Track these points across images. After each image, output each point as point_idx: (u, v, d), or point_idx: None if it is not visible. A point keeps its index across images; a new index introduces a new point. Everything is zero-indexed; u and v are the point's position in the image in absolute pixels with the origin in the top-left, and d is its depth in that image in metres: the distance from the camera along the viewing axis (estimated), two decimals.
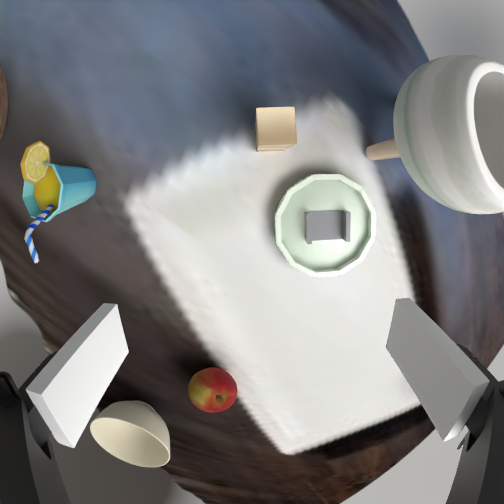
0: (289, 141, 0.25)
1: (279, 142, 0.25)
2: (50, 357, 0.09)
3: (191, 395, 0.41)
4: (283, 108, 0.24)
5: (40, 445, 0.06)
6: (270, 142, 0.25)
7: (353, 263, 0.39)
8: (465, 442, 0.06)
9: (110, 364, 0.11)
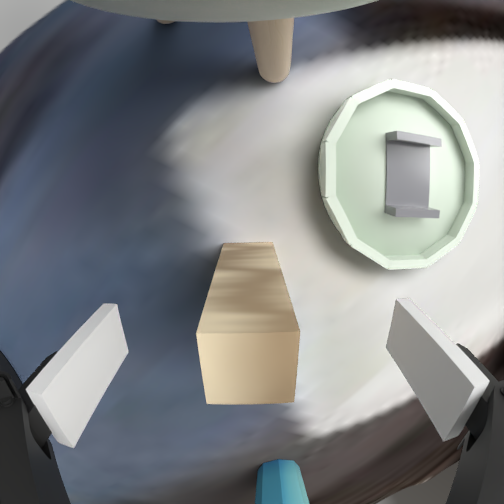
0: (294, 347, 0.10)
1: (294, 366, 0.10)
2: (50, 357, 0.09)
3: None
4: (203, 357, 0.10)
5: (40, 445, 0.06)
6: (292, 383, 0.10)
7: (466, 135, 0.17)
8: (465, 442, 0.06)
9: (110, 364, 0.11)
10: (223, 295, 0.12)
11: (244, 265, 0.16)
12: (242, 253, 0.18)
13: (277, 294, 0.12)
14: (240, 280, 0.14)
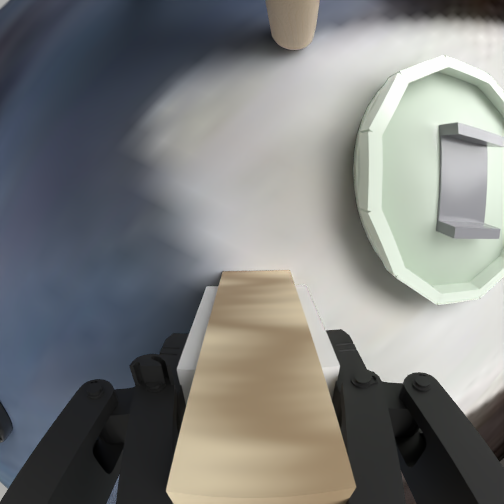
0: (341, 501, 0.04)
1: None
2: (170, 339, 0.11)
3: None
4: None
5: None
6: None
7: None
8: None
9: None
10: (216, 393, 0.07)
11: (252, 318, 0.10)
12: (248, 292, 0.13)
13: (309, 390, 0.07)
14: (245, 353, 0.08)
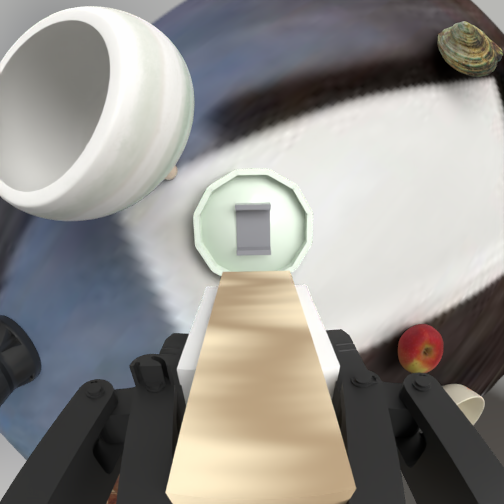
0: (341, 503, 0.04)
1: None
2: (170, 339, 0.11)
3: None
4: None
5: None
6: None
7: (299, 196, 0.33)
8: None
9: None
10: (216, 394, 0.07)
11: (252, 319, 0.10)
12: (248, 293, 0.13)
13: (309, 391, 0.07)
14: (245, 354, 0.08)
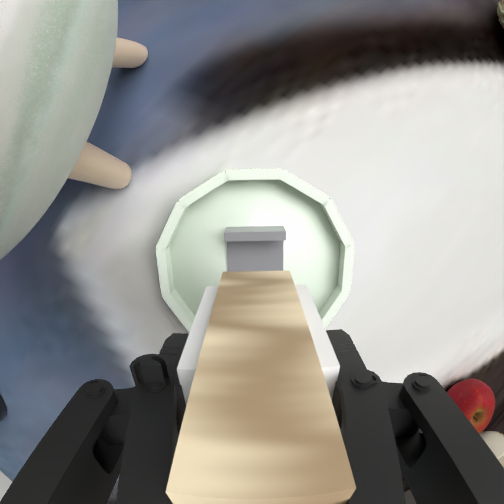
0: (341, 502, 0.04)
1: None
2: (170, 339, 0.11)
3: None
4: None
5: None
6: None
7: (333, 217, 0.19)
8: None
9: None
10: (216, 393, 0.07)
11: (252, 319, 0.10)
12: (248, 292, 0.13)
13: (309, 391, 0.07)
14: (245, 353, 0.08)
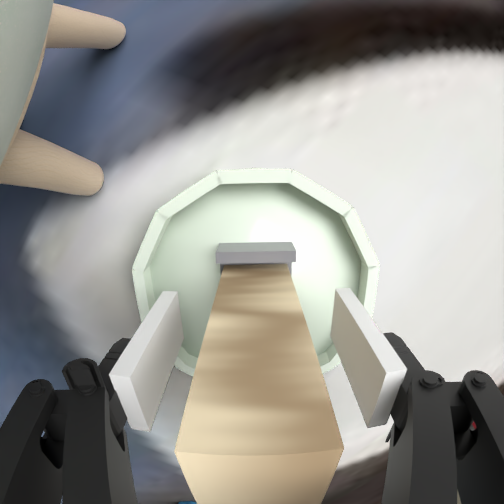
0: (331, 464, 0.05)
1: (327, 479, 0.05)
2: (118, 343, 0.10)
3: None
4: (189, 474, 0.05)
5: (118, 432, 0.07)
6: (321, 493, 0.05)
7: (356, 231, 0.15)
8: (391, 435, 0.07)
9: (173, 349, 0.12)
10: (219, 367, 0.08)
11: (251, 305, 0.11)
12: (248, 283, 0.14)
13: (303, 365, 0.08)
14: (245, 335, 0.09)
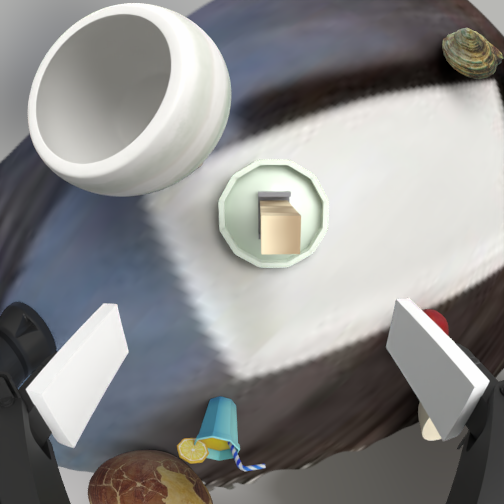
0: (299, 223, 0.25)
1: (299, 233, 0.26)
2: (50, 357, 0.09)
3: None
4: (262, 227, 0.26)
5: (40, 445, 0.06)
6: (299, 242, 0.26)
7: (316, 185, 0.35)
8: (465, 442, 0.06)
9: (110, 364, 0.11)
10: (267, 210, 0.28)
11: (274, 205, 0.32)
12: (272, 202, 0.34)
13: (291, 210, 0.28)
14: (273, 208, 0.30)
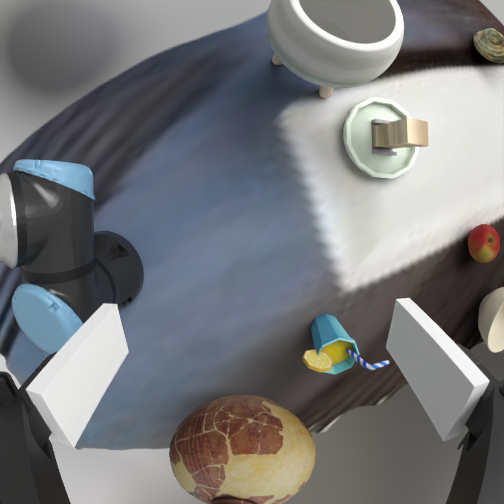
0: (426, 126, 0.31)
1: (427, 132, 0.31)
2: (50, 357, 0.09)
3: (485, 261, 0.44)
4: (408, 125, 0.31)
5: (40, 445, 0.06)
6: (427, 138, 0.32)
7: None
8: (465, 442, 0.06)
9: (110, 364, 0.11)
10: None
11: None
12: None
13: None
14: None
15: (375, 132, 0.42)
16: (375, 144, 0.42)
